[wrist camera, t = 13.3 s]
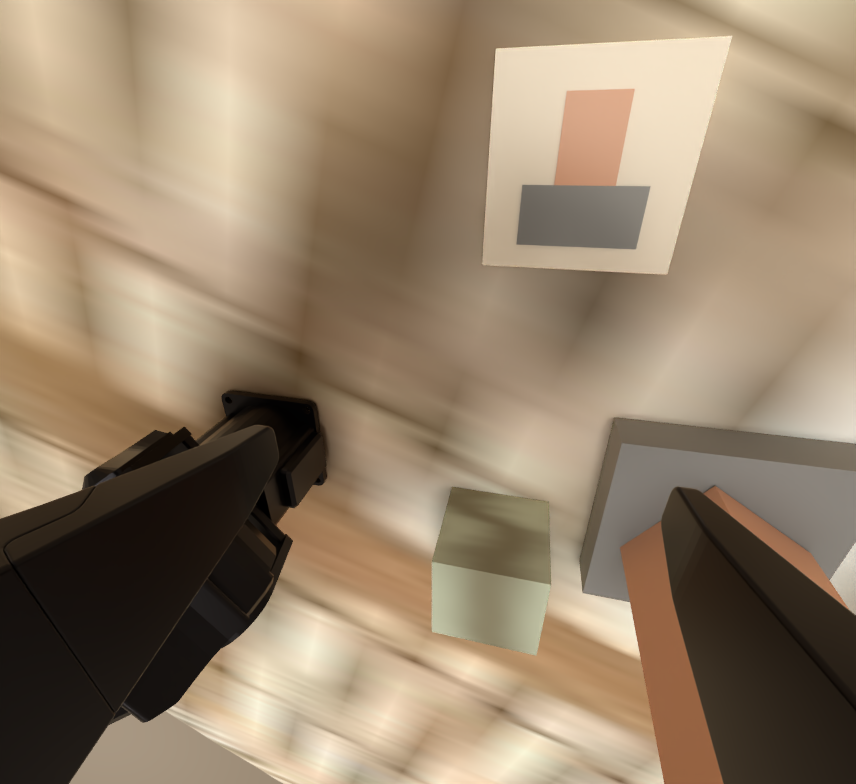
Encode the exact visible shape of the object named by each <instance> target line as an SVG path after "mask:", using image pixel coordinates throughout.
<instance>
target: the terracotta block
mask: <svg viewBox="0 0 856 784" xmlns="http://www.w3.org/2000/svg"><path fill="white" fill-rule="evenodd" d="M703 494H704V495H706V496H707V497H708V498H709V499H711V500H712V501H713V502H714V503H716V504H717V505H718V506H719V507H721V508H722V509H723V510H725V511H726V512H727V513H728V514H730V515H731V516H732V517H733V518H735V519H736V520H737V521H738V522H740V523H741V524H742V525H743V526H745V527H746V528H747V529H748V530H750V531H751V532H752V533H753V534H755V535H756V536H757V537H758V538H760V539H761V540H762V541H763V542H765V543H766V544H767V545H768V546H770V547H771V548H772V549H773V550H775V551H776V552H777V553H778V554H780V555H781V556H782V557H783V558H785V559H786V560H787V561H788V562H790V563H791V564H792V565H793V566H795V567H796V568H797V569H798V570H800V571H801V572H802V573H803V574H805V575H806V576H807V577H808V578H810V579H811V580H812V581H813V582H815V583H816V584H817V585H818V586H820V587H821V588H822V589H823V590H825V591H826V592H827V593H828V594H830V595H831V596H832V597H834V598H835V599H836V600H837V601H839V602H840V603H841V604H842V605H844V606H845V607H846V608H847V609H848V607H847V606H846V604H845V603H844V601H843V600H842V598H841V597H840V595H839V594H838V593H837V591H836V590H835V588H834V587H833V585H832V584H831V582H830V581H829V579H828V578H827V576H826V575H825V573H824V572H823V570H822V569H821V567H820V566H819V565H818V563H817V562H816V560H815V559H814V557H813V556H812V554H811V553H810V552H808V551H807V550H805V549H804V548H803V547H801V546H800V545H798V544H797V543H795V542H794V541H793V540H791V539H790V538H788V537H787V536H786V535H784V534H783V533H781V532H780V531H778V530H777V529H776V528H774V527H773V526H771V525H770V524H769V523H767V522H766V521H764V520H763V519H761V518H760V517H759V516H757V515H756V514H754V513H753V512H752V511H750V510H749V509H747V508H746V507H745V506H743V505H742V504H740V503H739V502H737V501H736V500H735V499H733V498H732V497H730V496H729V495H728V494H726V493H725V492H723V491H722V490H720V489H719V488H718V487H716V486H714V487H712V488H711V489H709V490H708V491H706V492H705V493H703ZM620 551H621V556H622V561H623V567H624V572H625V577H626V583H627V588H628V593H629V598H630V604H631V609H632V614H633V620H634V625H635V630H636V636H637V641H638V646H639V651H640V657H641V662H642V667H643V673H644V678H645V683H646V688H647V694H648V699H649V704H650V710H651V715H652V720H653V725H654V731H655V736H656V741H657V747H658V752H659V757H660V762H661V768H662V773H663V778H664V784H723V780H722V777H721V773H720V770H719V766H718V762H717V759H716V755H715V752H714V748H713V744H712V741H711V737H710V734H709V730H708V726H707V723H706V719H705V716H704V712H703V708H702V705H701V701H700V697H699V694H698V690H697V687H696V683H695V679H694V676H693V672H692V669H691V665H690V661H689V658H688V654H687V651H686V647H685V643H684V640H683V636H682V633H681V629H680V625H679V622H678V618H677V615H676V611H675V607H674V603H673V599H672V594H671V588H670V582H669V575H668V569H667V562H666V555H665V549H664V542H663V536H662V529H661V521H660V522H658V523H657V524H655V525H654V526H652V527H651V528H649V529H647V530H646V531H644V532H643V533H641V534H640V535H638V536H637V537H635V538H634V539H632V540H630V541H629V542H627V543H626V544H624V545H623V546H621V547H620Z"/></svg>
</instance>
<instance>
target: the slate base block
mask: <svg viewBox="0 0 856 784" xmlns="http://www.w3.org/2000/svg"><path fill="white" fill-rule="evenodd" d="M677 486H680V487H687V488H694V489H697V490H699V491H701V492H702V493H705V492H706V491H708V490H709V489H711V488H712V487H714V486H716V487H718V488H719V489H720V490H722V491H723V492H725V493H726V494H728V495H729V496H730V497H732V498H733V499H735V500H736V501H737V502H739V503H740V504H742V505H743V506H745V507H746V508H747V509H749V510H750V511H752V512H753V513H754V514H756V515H757V516H759V517H760V518H761V519H763V520H764V521H766V522H767V523H769V524H770V525H771V526H773V527H774V528H776V529H777V530H778V531H780V532H781V533H783V534H784V535H786V536H787V537H788V538H790V539H791V540H793V541H794V542H795V543H797V544H798V545H800V546H801V547H803V548H804V549H805V550H807V551H808V552H810V553H811V554H812V556H813V557H814V559H815V560H816V562H817V563H818V565H819V566H820V567H821V569H822V570H823V572H824V573H825V575H826V576H827V578H828V579H829V580H830V579H831V577H832V576H833V574H834V573H835V571H836V570H837V569H838V567H839V566H840V564H841V563H842V561H843V560H844V558H845V557H846V555H847V554H848V552H849V551H850V549H851V548H852V546H853V545H854V543H855V542H856V444H851V443H842V442H833V441H824V440H815V439H806V438H797V437H787V436H778V435H769V434H760V433H751V432H742V431H733V430H724V429H714V428H705V427H696V426H687V425H678V424H669V423H660V422H650V421H641V420H632V419H623V418H614V421H613V425H612V429H611V433H610V437H609V442H608V446H607V450H606V454H605V458H604V462H603V466H602V470H601V475H600V479H599V483H598V487H597V491H596V495H595V499H594V503H593V508H592V512H591V516H590V520H589V524H588V528H587V532H586V536H585V541H584V545H583V549H582V553H581V557H580V571H581V581H582V591H583V593H586V594H591V595H596V596H601V597H606V598H611V599H617V600H622V601H627V602H630V598H629V593H628V588H627V583H626V577H625V572H624V567H623V561H622V556H621V551H620V547H621V546H623V545H624V544H626V543H627V542H629V541H630V540H632V539H634V538H635V537H637V536H638V535H640V534H641V533H643V532H644V531H646V530H647V529H649V528H651V527H652V526H654V525H655V524H657V523H658V522H660V521H661V519H662V515H663V512H664V509H665V507H666V504H667V501H668V498H669V496H670V493H671V491H672V489H673V488H674V487H677Z"/></svg>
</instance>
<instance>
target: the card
mask: <svg viewBox="0 0 856 784" xmlns="http://www.w3.org/2000/svg"><path fill="white" fill-rule="evenodd" d="M731 40H732V36H721V37H702V38H683V39H664V40H646V41H627V42H608V43H590V44H571V45H552V46H534V47H515V48H496V53H495V69H494V84H493V100H492V116H491V131H490V147H489V162H488V178H487V193H486V209H485V225H484V240H483V256H482V265H489V266H509V267H528V268H547V269H567V270H586V271H606V272H625V273H645V274H664V275H667V273H668V270H669V266H670V262H671V259H672V255H673V251H674V248H675V244H676V240H677V237H678V233H679V230H680V226H681V222H682V219H683V215H684V211H685V208H686V204H687V200H688V197H689V193H690V189H691V186H692V182H693V178H694V175H695V171H696V168H697V164H698V160H699V157H700V153H701V149H702V146H703V142H704V138H705V135H706V131H707V127H708V124H709V120H710V116H711V113H712V109H713V105H714V102H715V98H716V95H717V91H718V87H719V84H720V80H721V76H722V73H723V69H724V65H725V62H726V58H727V54H728V51H729V47H730V43H731Z"/></svg>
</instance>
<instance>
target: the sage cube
mask: <svg viewBox="0 0 856 784" xmlns="http://www.w3.org/2000/svg"><path fill="white" fill-rule="evenodd" d="M550 588H551V566H550V532H549V502H547V501H540V500H534V499H527V498H521V497H514V496H508V495H502V494H495V493H489V492H482V491H476V490H470V489H463V488H457V487H452V490H451V493H450V497H449V501H448V504H447V508H446V512H445V515H444V519H443V523H442V526H441V530H440V534H439V538H438V541H437V545H436V549H435V552H434V556H433V560H432V632H435V633H440V634H444V635H448V636H453V637H457V638H462V639H466V640H470V641H475V642H479V643H483V644H488V645H492V646H496V647H501V648H505V649H510V650H514V651H518V652H523V653H527V654H531V655H537V650H538V645H539V640H540V636H541V631H542V626H543V621H544V616H545V612H546V607H547V602H548V597H549V592H550Z"/></svg>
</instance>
